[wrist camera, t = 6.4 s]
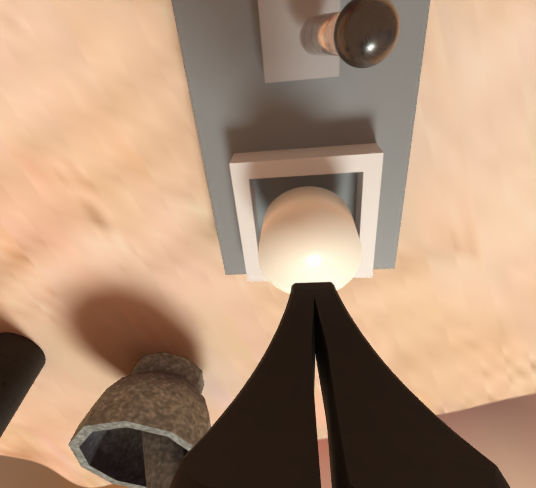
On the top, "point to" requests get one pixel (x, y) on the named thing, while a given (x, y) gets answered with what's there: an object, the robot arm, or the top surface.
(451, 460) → the robot arm
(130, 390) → the mortar and pestle
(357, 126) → the panel
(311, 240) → the push button
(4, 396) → the drinking cup
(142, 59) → the top surface
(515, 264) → the top surface
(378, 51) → the toggle lever
